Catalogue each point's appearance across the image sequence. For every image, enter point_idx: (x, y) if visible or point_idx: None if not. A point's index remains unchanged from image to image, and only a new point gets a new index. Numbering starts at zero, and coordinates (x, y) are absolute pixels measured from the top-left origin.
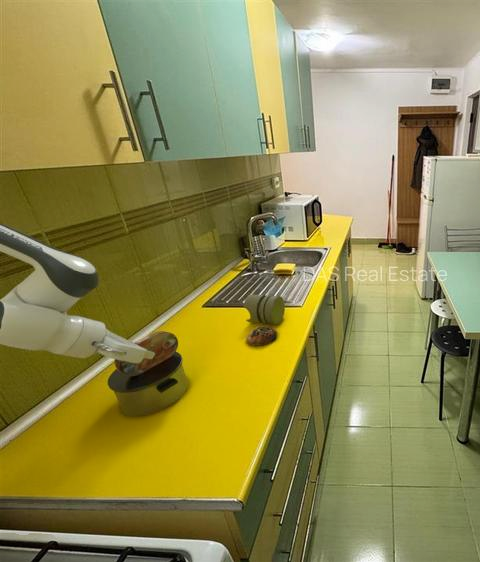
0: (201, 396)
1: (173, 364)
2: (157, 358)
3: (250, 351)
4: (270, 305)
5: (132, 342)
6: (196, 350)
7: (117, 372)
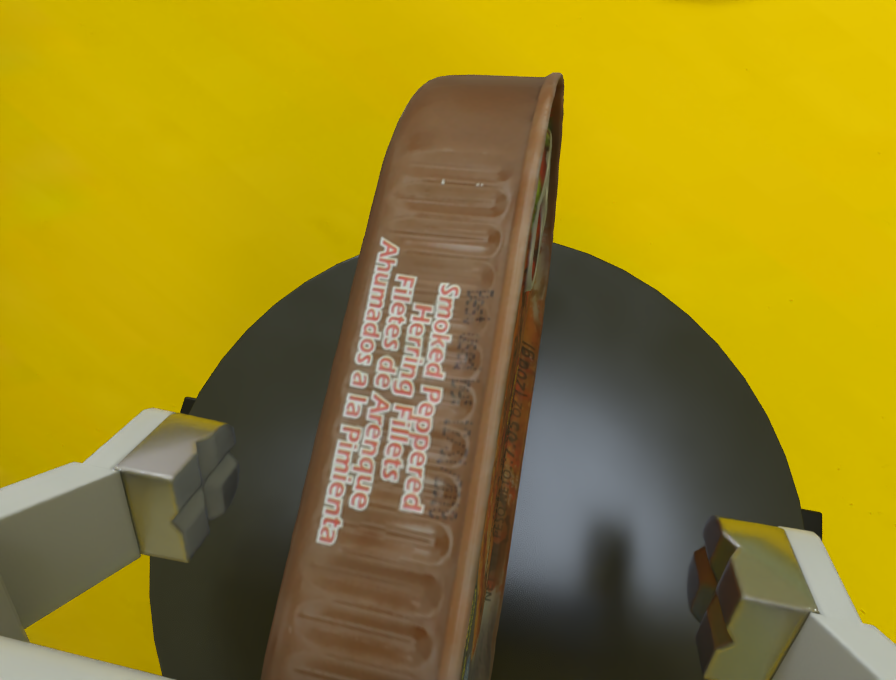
0: (794, 444)
1: (676, 392)
2: (511, 409)
3: (710, 19)
4: None
5: (182, 441)
6: (348, 115)
7: (222, 675)
